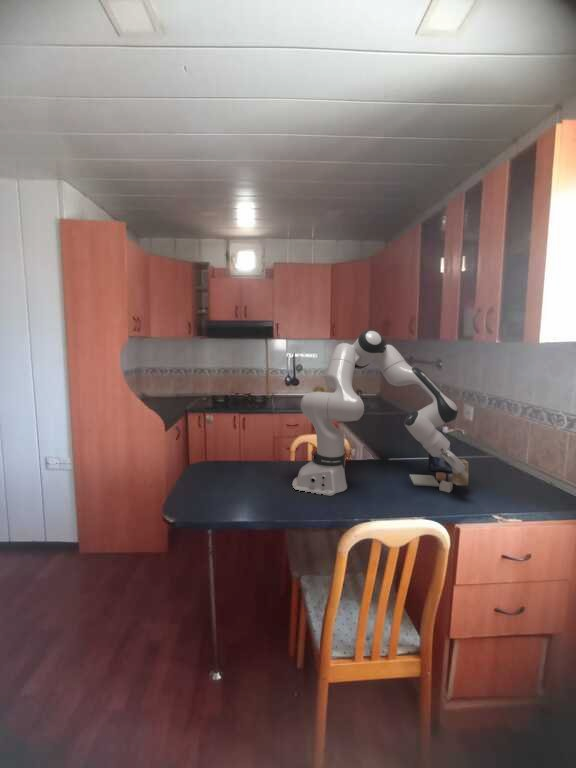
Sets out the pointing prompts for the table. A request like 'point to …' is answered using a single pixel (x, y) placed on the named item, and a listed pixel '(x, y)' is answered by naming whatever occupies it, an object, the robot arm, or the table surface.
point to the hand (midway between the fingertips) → (461, 470)
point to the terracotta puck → (440, 476)
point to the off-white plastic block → (446, 486)
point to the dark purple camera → (439, 463)
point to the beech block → (460, 475)
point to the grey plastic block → (450, 478)
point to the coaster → (424, 480)
